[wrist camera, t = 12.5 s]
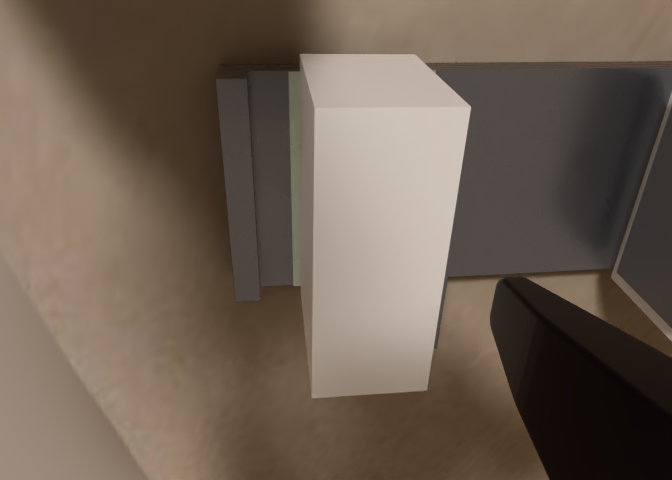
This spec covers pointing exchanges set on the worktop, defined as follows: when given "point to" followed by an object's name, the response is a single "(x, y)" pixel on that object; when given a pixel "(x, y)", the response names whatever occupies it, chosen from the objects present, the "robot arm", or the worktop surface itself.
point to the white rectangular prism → (376, 217)
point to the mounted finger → (651, 236)
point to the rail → (481, 166)
